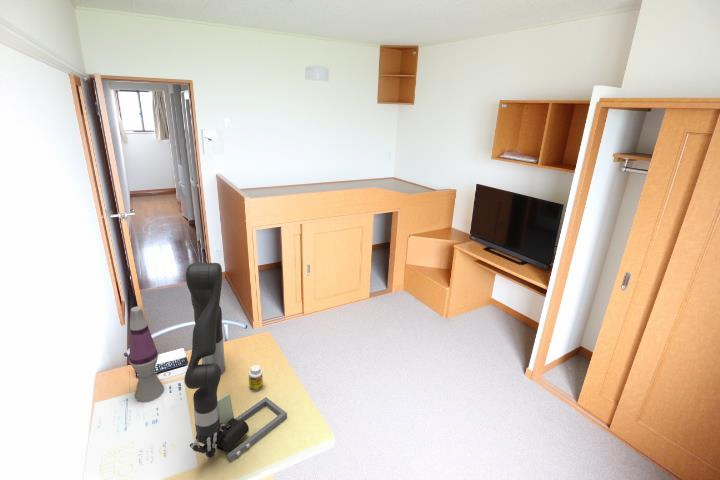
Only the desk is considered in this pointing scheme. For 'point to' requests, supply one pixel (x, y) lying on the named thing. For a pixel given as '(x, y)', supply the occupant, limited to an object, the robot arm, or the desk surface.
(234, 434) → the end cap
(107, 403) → the desk surface
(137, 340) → the lamp
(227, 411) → the lid
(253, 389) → the supplement bottle
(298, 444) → the desk surface
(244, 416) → the grey frame
